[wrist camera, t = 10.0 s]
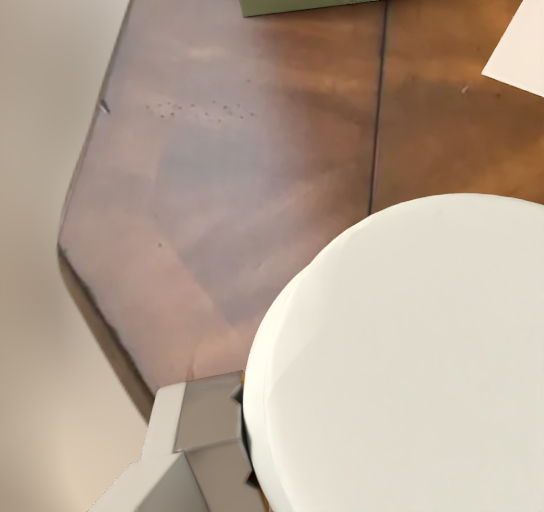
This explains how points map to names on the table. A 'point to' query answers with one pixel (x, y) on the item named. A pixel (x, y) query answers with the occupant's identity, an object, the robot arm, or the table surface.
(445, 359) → the supplement bottle
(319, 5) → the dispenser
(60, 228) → the table surface
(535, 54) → the thin white square mat
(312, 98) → the table surface
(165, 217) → the table surface
